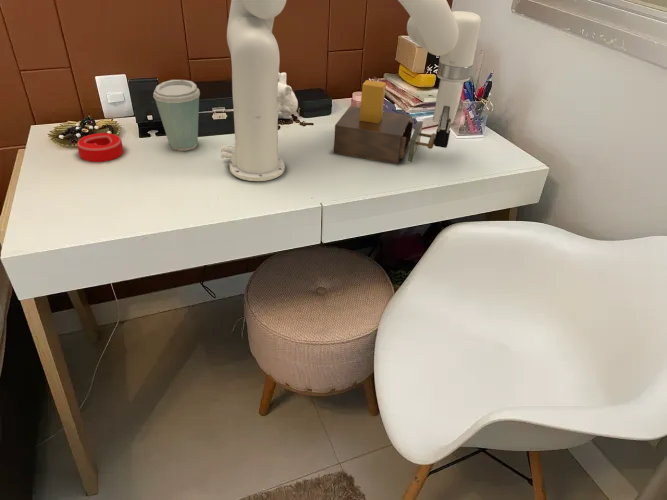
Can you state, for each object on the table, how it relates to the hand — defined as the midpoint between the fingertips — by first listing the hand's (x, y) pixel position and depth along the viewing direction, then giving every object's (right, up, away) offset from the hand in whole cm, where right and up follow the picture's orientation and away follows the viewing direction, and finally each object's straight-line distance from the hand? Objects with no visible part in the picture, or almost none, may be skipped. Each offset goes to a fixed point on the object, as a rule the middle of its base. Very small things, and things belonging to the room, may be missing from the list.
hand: (440, 145), depth 131 cm
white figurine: (-41, +12, +20) cm, 47 cm away
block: (-17, +7, +1) cm, 19 cm away
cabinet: (-17, +1, +5) cm, 18 cm away
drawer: (-11, 0, +4) cm, 12 cm away
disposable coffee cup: (-64, 0, 0) cm, 64 cm away
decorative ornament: (-81, -3, -6) cm, 82 cm away
